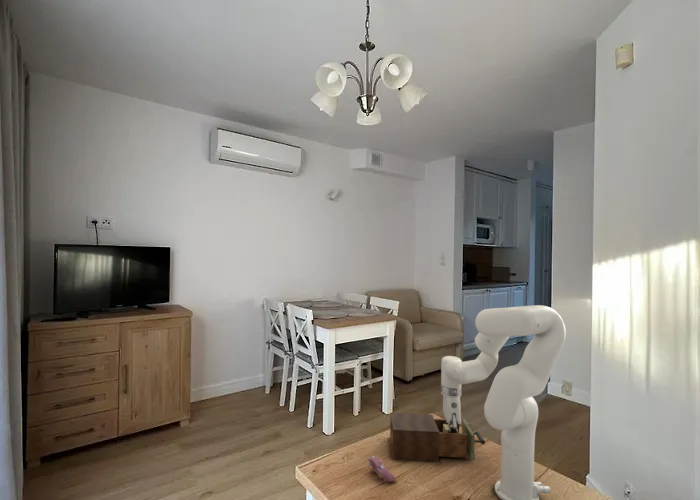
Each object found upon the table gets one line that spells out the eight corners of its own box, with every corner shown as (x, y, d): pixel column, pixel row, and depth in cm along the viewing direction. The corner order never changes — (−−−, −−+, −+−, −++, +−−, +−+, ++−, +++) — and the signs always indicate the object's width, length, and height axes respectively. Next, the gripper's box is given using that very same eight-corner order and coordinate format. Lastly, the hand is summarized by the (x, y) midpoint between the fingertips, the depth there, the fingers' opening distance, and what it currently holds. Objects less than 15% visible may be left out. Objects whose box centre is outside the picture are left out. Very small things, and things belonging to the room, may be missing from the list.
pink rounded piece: (371, 473, 126) (363, 456, 125) (381, 464, 128) (374, 448, 127) (386, 489, 117) (377, 472, 116) (397, 480, 119) (389, 463, 118)
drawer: (476, 442, 145) (477, 419, 145) (487, 460, 131) (488, 436, 131) (424, 439, 146) (425, 417, 146) (430, 457, 132) (431, 433, 132)
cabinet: (431, 441, 146) (432, 414, 146) (438, 461, 132) (439, 431, 132) (390, 439, 147) (390, 412, 147) (392, 459, 132) (393, 429, 133)
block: (455, 436, 141) (455, 424, 141) (458, 442, 136) (458, 430, 136) (442, 436, 141) (443, 424, 141) (445, 442, 136) (445, 429, 136)
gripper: (467, 398, 130) (466, 450, 130) (455, 383, 147) (455, 429, 147) (446, 398, 131) (445, 449, 130) (437, 382, 148) (436, 428, 147)
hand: (450, 438), depth 138 cm, fingers closed on block, 4 cm apart
